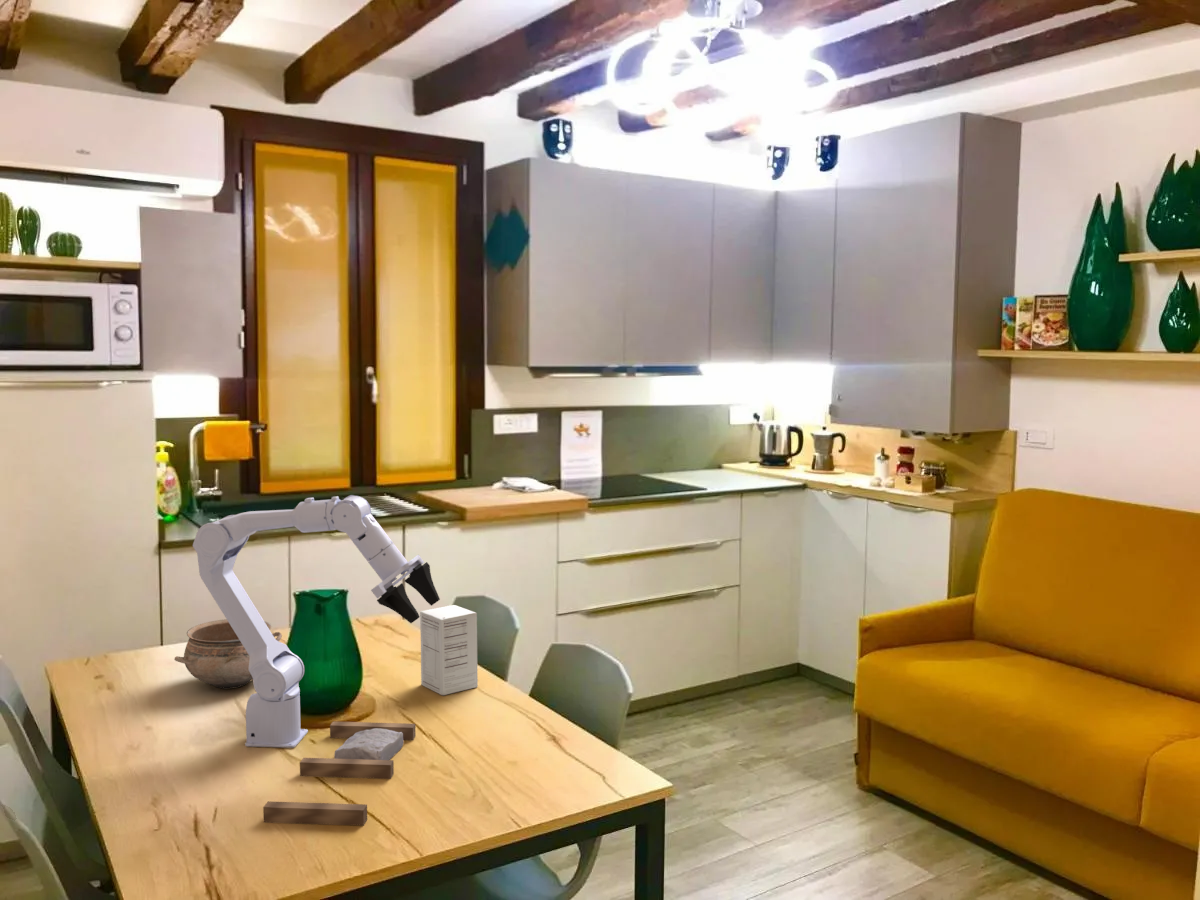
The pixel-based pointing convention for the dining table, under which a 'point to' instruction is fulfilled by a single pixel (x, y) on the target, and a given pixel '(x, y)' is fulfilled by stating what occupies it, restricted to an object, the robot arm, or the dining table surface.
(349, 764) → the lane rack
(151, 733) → the dining table surface
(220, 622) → the cooking pot
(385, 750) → the stone block
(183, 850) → the dining table surface
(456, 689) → the supplement box
